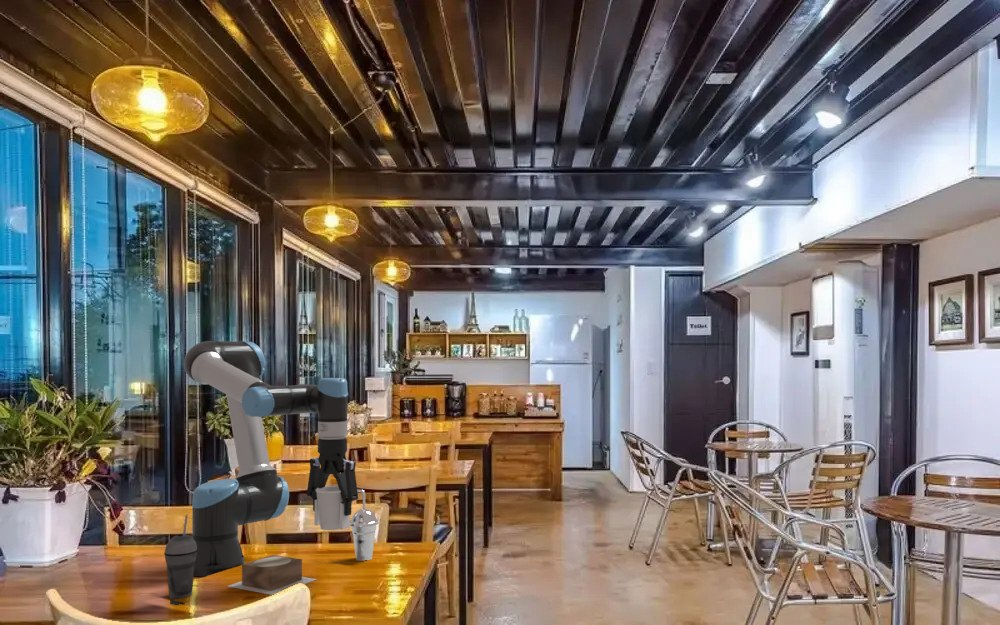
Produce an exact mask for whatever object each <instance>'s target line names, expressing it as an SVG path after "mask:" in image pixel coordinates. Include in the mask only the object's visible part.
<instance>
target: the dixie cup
mask: <svg viewBox="0 0 1000 625" xmlns="http://www.w3.org/2000/svg"><path fill="white" fill-rule="evenodd" d="M316 492H317V501H318V510H319V519H320V525H319V527H320V530H324V531H335V530H341V529H340V503H341V502H343V500H342V497H341V494H340V492H341V491H340V490H339V487H338V485H325V487H323V488H317V489H316Z"/></svg>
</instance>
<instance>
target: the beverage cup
mask: <svg viewBox="0 0 1000 625" xmlns="http://www.w3.org/2000/svg"><path fill="white" fill-rule="evenodd" d="M187 524H188V515H187V514H186V515H185V516H184V523H183V532H182V533H179V534H176V535H175V536H172V537H171V538H170V539H169V540H168V542H167V543H166V546H165V549H164V559H165V563H166V573H167V574H166V575H167V584H168V585H167V586H168V597H169V598H170V599H169V604H170V605H171V604H174V605H173V606H180V605H179V604H182V605H186V604H185V603H186V602H184V601H179V599H185V598H188V597H190V596H192V594H193V587H194V586H193V585H194V577H195V576H194V567H195V559H196V555H197V551H198V550H197V545H196V542H195V540H194V539H193V538H192V536H191V535H189V534H186V533H187V532H186V531H187ZM174 599H175V600H174Z"/></svg>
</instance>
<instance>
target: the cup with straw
mask: <svg viewBox="0 0 1000 625" xmlns="http://www.w3.org/2000/svg"><path fill="white" fill-rule="evenodd" d="M357 491H358V493H362V509H361V508H359V509H358V510H357V511H355V512H354V513H353V515H352V518H351V520H350V528H351V532H352V536H353V537H352V538H353V545H354V553H355V560H356V561H361V562H366V561H365V560H367V561H370V560H372V559H373V553H374V545H375V535H376V532H377V531H376V530H377V525H379V524H380V521H379V519H378V518H377V516H376V514H375V512H373V511H372V510H371V509H368V508H366V492H365V490H363V489H359V488H357Z"/></svg>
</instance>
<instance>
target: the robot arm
mask: <svg viewBox="0 0 1000 625" xmlns="http://www.w3.org/2000/svg"><path fill="white" fill-rule="evenodd" d="M265 367H266V360H265V355H264V353H263V350H262V349H261V348H260V346H259V345H257V344H256V343H255V342H252V341H244V340H236V341H234V340H233V341H232V340H229V341H227V340H225V341H224V340H223V341H222V340H220V341H219V340H218V341H217V340H215V341H214V340H205V341H202V342H201V341H200V342H199V343H196V344H195V345H194V346H192V347H191V348H190V349H189V350H188V351H187V353H186V354H185V357H184V359H183V368H184V371H185V373H186V375H187V376H188V377H189V378H190V379H192V381H195V382H196V383H198V384H200V385H209V386H210V387H213V388H215V389H216V390H218V391H219V392H221V393H223V394H224V395H226V400H227V406H228V410H229V412H228V413H229V417H230V424H231V429H232V436H233V440H234V448H235V454H236V460H237V466H238V473H237V475H236V476H235V477H234V478H223V479H215V480H210V481H207V482H205V483H202V484H200V485H198V486H197V487H196V488H195V489H194V490H193V494H192V502H191V506H192V514H191V515H192V522H191V523H192V529H191V530H192V531H191V532H192V533H191V534H192V536H191V537H192V538H193V539H194V540H195V542H196V545H197V550H198V551H197V555H196V559H195V567H194V577H208V576H212V575H214V574H218V573H221V572H224V571H228V570H230V569H231V570H232V569H234V568H237V567H242V564H245V555H244V553H243V549H242V546H241V543H240V540H239V526H243V525H247V524H253V523H257V522H258V523H259V522H263V521H264V522H266V521H270V520H272V519H276V518H278V517H280V516H282V514H284V512H285V511H286V509H287V506H288V504H289V498H290V491H289V490H290V489H289V485H288V482H287V481H286V479H285V478H284V477H282V476H280V475H279V476H278V472H277V469H276V468H275V467H274V466H272V465H271V463H270V458H269V452H268V447H267V441H266V435H265V430H264V424H263V419H262V418H264V417H274V416H282V415H283V416H285V415H299V414H300V415H301V414H317V436H318V437H319V438H318V440H317V453H319V455H318V457H314V458H310V459H309V466H310V469H309V473H308V474H309V476H308V482H307V490H306V495H307V497H311V498H312V512H314V526H320V519H319V510H318V501H317V492H316V489H317V488H323V487H325V486H327V482H328V479H329V477H330V475H332V476H333V478H334V479H335V480H336V484H337V486H338V487H339V490H340V491H341V492H340V494H341V497H342V500H343V502H341V503H340V529H339V530H345V529H348V528H351V526H350V521H351V520H350V519H351V515H352V503H353V501H358V500H359V492H358V491H357V489H358V484H357V476H356V465H357V464H356V463H357V462H356V461H355V460H348V459H347V456H346V453H347V452H348V438H347V436H348V410H349V408H348V405H349V404H348V400H349V397H348V396H349V391H348V381H347V379H345V378H344V377H337V378H336V377H321V378H319V380H318V383H317V384H308V383H305V384H303V383H300V384H295V385H271V384H268V383H267V382H264V381H262V380H261V377H263V375H264V373H265V371H266V369H265Z"/></svg>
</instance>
